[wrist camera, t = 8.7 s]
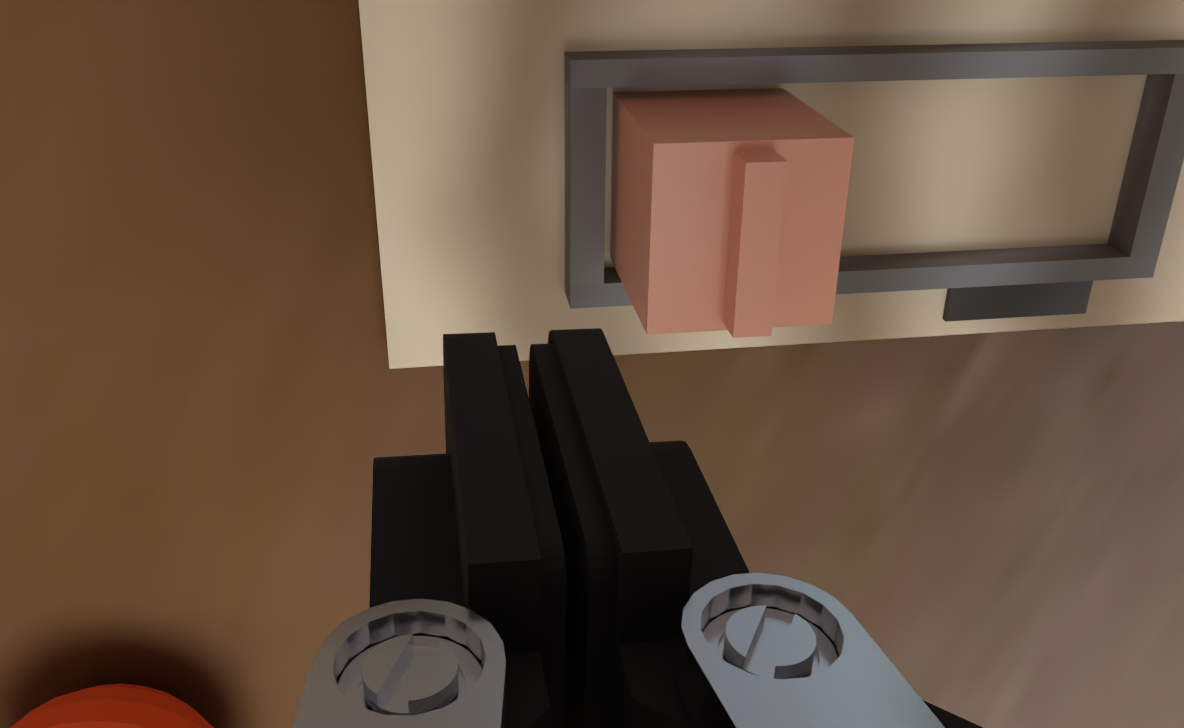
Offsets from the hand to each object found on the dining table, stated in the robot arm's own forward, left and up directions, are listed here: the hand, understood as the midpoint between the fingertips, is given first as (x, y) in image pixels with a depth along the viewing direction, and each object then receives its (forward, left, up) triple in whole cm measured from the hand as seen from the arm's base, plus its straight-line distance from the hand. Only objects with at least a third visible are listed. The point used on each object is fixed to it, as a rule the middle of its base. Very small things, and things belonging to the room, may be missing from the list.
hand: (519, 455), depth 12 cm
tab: (-6, +1, -14) cm, 15 cm away
